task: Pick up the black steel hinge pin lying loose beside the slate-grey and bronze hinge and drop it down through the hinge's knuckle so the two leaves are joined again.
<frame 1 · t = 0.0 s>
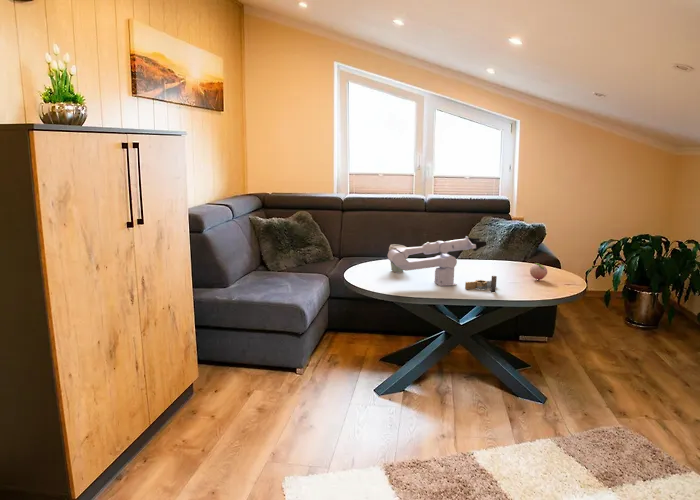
hand: (482, 242, 290), 22 cm above the table, tool horizontal, fingers open, 7 cm apart
hinge pin: (493, 291, 277), on the table
disposable coffee cup: (397, 271, 315), on the table
decorative fruit: (537, 280, 301), on the table
hinge: (480, 288, 283), on the table
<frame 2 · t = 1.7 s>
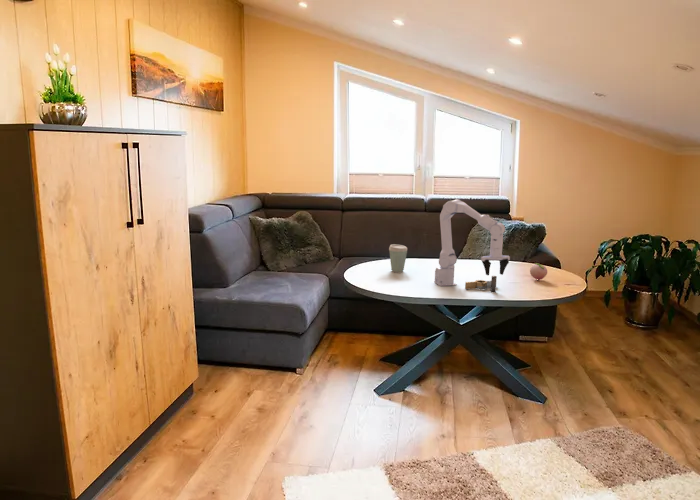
hand: (494, 274, 275), 9 cm above the table, tool pointing down, fingers open, 7 cm apart
nothing on the table moved.
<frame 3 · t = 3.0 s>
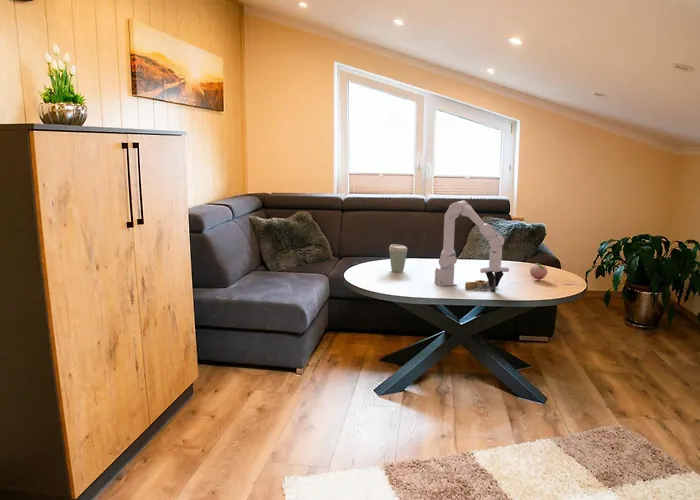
hand: (493, 286, 276), 3 cm above the table, tool pointing down, fingers closed on hinge pin, 2 cm apart
hinge pin: (493, 291, 277), on the table, touching gripper
everything else where it was.
when the fingers open (4 cm above the table, at t = 6.7 s): hinge pin drops 2 cm, resting in hinge.
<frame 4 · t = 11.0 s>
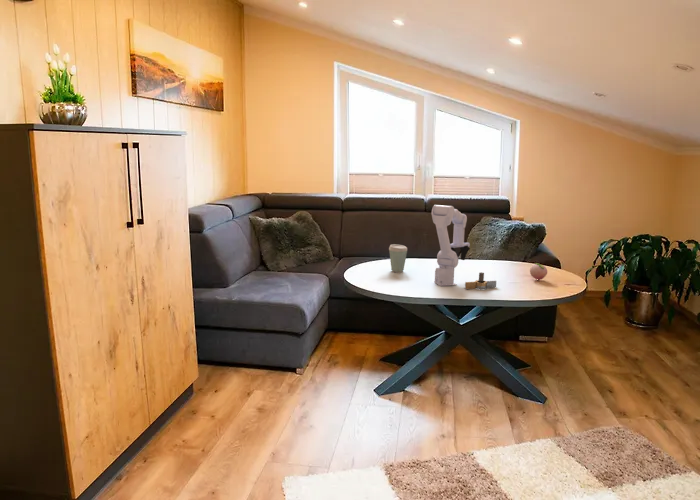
hand: (457, 260, 300), 10 cm above the table, tool pointing down, fingers open, 7 cm apart
hinge pin: (480, 288, 283), resting in hinge
everything else where it was.
at the end: hinge pin 0.0 cm off-centre on the hinge, point 0.0 cm above the hinge's base; hinge pin tilted 0°; the gripper is holding nothing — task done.
